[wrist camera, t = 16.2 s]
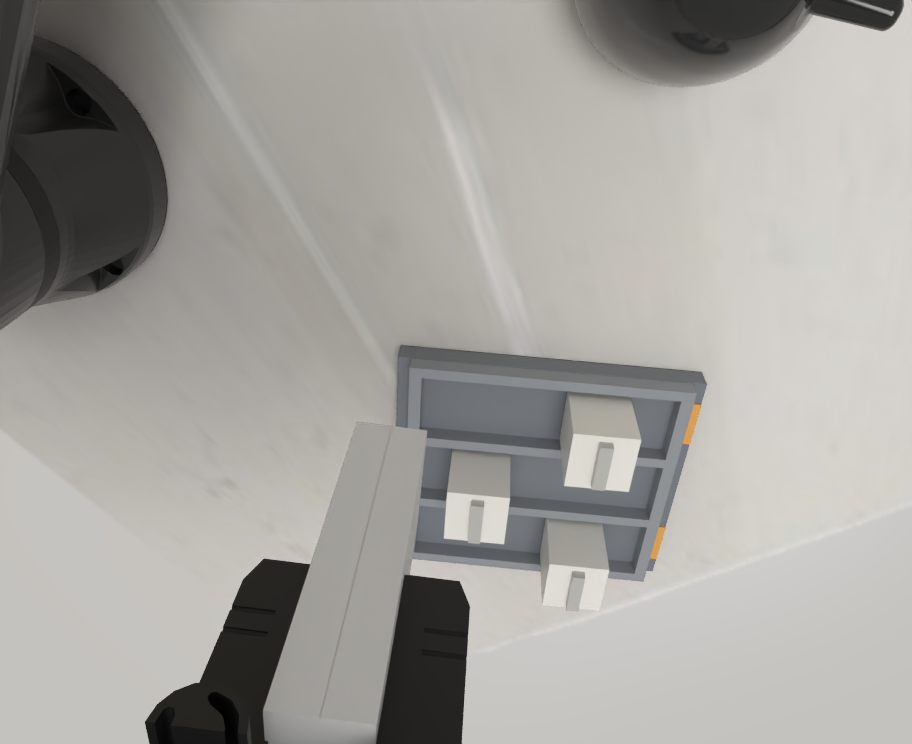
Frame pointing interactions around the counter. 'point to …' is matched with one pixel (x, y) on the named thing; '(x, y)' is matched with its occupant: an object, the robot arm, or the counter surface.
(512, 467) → the switch bank
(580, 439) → the tab
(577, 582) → the tab
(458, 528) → the tab
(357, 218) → the counter surface
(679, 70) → the pump dispenser
